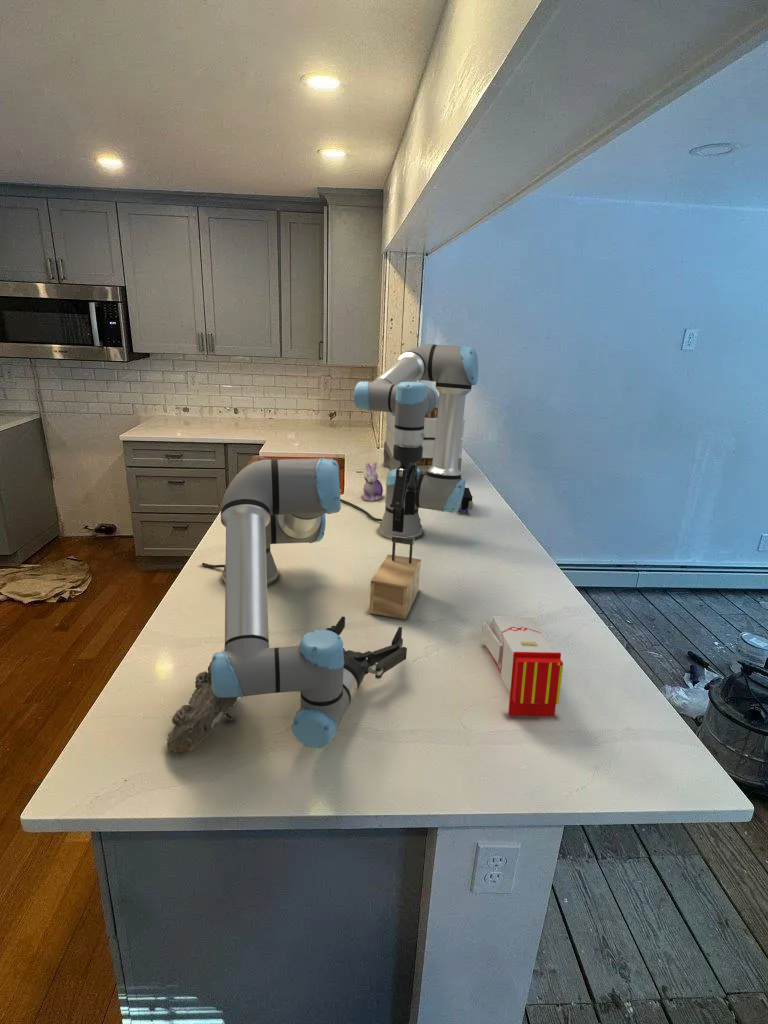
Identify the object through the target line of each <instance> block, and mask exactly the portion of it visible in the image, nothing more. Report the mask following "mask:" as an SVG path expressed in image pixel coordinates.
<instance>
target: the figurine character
mask: <svg viewBox="0 0 768 1024" xmlns="http://www.w3.org/2000/svg"><path fill="white" fill-rule="evenodd" d="M473 507H474V501H473V495H472V493H471V489H470V488H469V487H465V490H464V494H463V497H462V500H461V503H460V506H459V508H458V509H457V510H456V511H458V513H459V514H462V512H464V511H465V514H469V511H473Z"/></svg>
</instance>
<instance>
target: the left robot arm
mask: <svg viewBox="0 0 768 1024" xmlns="http://www.w3.org/2000/svg"><path fill="white" fill-rule="evenodd" d="M340 487H341V485H340V470H339V463H338V461H337V460H336V459H333V458H324V457H319V458H291V459H289V458H288V459H287V458H286V459H282V458H281V459H278V458H277V459H270V458H266V459H260V460H257V461H254V462H251V463H250V464H248V465H246V466H245V467H244V468H242V469H241V470H240V471H239V472H238V473H237V474H236V475H235V476H234V478H232V480H231V481H230V483H229V485H228V487H227V488H226V491H225V493H224V494H223V498H222V501H221V506H220V523H221V524H222V526H223V527H225V564H209V563H207V562H206V563H205V562H202V563H201V566H203V567H207V568H212V569H213V568H214V569H219V568H223V570H222V571H223V572H222V580H223V581H224V583H225V586H224V587H225V588H224V589H225V590H224V592H225V593H224V596H225V597H224V650H221V651H219V652H215V653H214V654H212V656H211V661H212V666H211V680H212V690H213V693H214V695H215V696H217V697H220V698H227V697H238V698H244V697H252V696H262V695H269V694H270V695H271V694H283V693H294V692H295V693H296V692H300V693H299V694H300V695H299V696H300V705H299V709H298V710H297V711H296V712H295V715H294V718H293V720H292V722H291V730H292V733H293V736H294V737H295V739H296V740H297V741H298V742H299V743H300V744H302V745H303V746H305V747H308V748H312V749H322V748H324V747H326V746H328V745H329V744H330V743H331V741H332V739H333V738H334V736H335V734H337V733H338V731H339V727H340V725H341V724H342V721H343V719H344V717H345V715H346V713H347V711H348V709H349V707H350V706H351V703H352V702H353V700H354V697H355V696H356V694H357V691H358V690H359V688H360V686H361V684H362V682H363V680H364V678H365V676H366V675H368V674H373V675H374V678H375V679H377V680H379V679H381V678H382V677H383V675H384V674H385V673H387V672H388V671H390V670H392V669H393V668H395V667H397V666H398V665H399V664H401V663H402V662H404V661H405V660H407V655H408V654H407V652H408V648H407V647H406V646H403V645H404V643H403V642H404V639H403V638H402V637H403V636H402V635H403V626H398V628H397V630H396V632H395V634H394V636H393V638H392V640H391V644H390V645H389V646H385V647H382V648H380V649H377V650H374V651H370V650H368V651H365V652H360V651H354V650H350V649H348V650H346V649H345V647H344V641H343V639H342V637H341V636H340V635H341V634H342V632H343V631H344V629H345V628H346V616H343V615H342V616H341V617H340V618H339V620H338V621H337V623H336V624H335V625H331V626H330V627H326V628H325V629H321V628H320V629H314V630H312V631H308V632H306V633H305V634H303V635H302V637H301V638H300V640H299V645H295V646H294V645H293V646H281V647H280V646H279V647H270V635H269V634H270V633H269V631H270V629H269V604H268V600H269V599H268V586H269V585H272V584H273V583H274V582H275V581H276V580H277V579H278V568H277V565H276V562H275V559H274V557H273V554H272V551H271V545H279V544H281V545H282V544H307V543H308V544H313V543H318V542H321V541H322V540H323V539H324V536H325V532H326V523H327V522H326V514H327V515H332V514H336V513H337V514H338V513H339V512H340V511H341V509H342V508H341V507H342V506H341V505H342V504H341V501H340V499H341V488H340Z"/></svg>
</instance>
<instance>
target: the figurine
mask: <svg viewBox="0 0 768 1024" xmlns="http://www.w3.org/2000/svg"><path fill="white" fill-rule="evenodd" d="M365 464H366V465H365V466H366V467H365V470H366V471H365V474H364V475H363V476H364V480H365V483H364V485H363V495H362V498H363V500H364V501H368V502H373V501H378V500H381V499H382V498H383V493H384V487H383V483H382V482H381V481H380V480H379V475H378V473H377V468H378V462H377V461H375V462H374V463H373V464H372V465H370V463H369V462H366V463H365Z"/></svg>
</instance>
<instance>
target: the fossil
mask: <svg viewBox="0 0 768 1024" xmlns="http://www.w3.org/2000/svg"><path fill="white" fill-rule="evenodd" d="M211 666H212V660H211V661H210V663H209V665H208V666H207V671H201V672H199V673H198V674H197V675H196V676H195V680H194V684H195V685H194V687H195V689H194V690H193V693H192V694H191V697H190V698H189V700H188V704H184V705H182V706H181V707H180V709H177V710H176V711H175V713H174V715H173V716H172V718H171V723H172V724H173V727H172V730H171V731H170V732H168V734H167V738H166V741H167V742H166V745H167V749H168V750H169V751H173V752H174V753H176V754H178V753H182V752H188V751H189V752H192V751H193V750H195V748H196V747H197V746H199V744H200V743H201V742H203V741H204V740H205V739H206V738H207V737H208V736H209V735H210V734H211V733H212V732H214V730H215V729H217V727H218V726H219V724H220V722H221V721H222V720H223V719H224V718H225V716H226V717H227V719H229V720H233V717H232V715H230V714H229V710H230V709H231V708H234V706H235V704H236V703H237V702H238V699H239V697H227V698H220V697H217V696H215V695H214V693H213V690H212V680H211Z"/></svg>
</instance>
